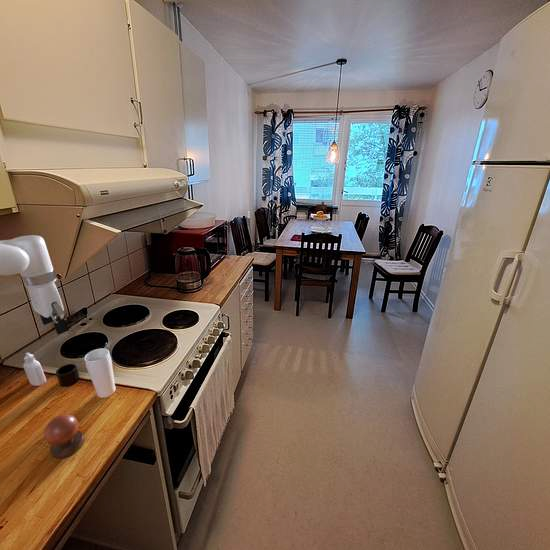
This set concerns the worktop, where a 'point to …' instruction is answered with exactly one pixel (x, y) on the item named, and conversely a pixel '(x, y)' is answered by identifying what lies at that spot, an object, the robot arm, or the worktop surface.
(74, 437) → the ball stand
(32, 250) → the robot arm
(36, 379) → the eye dropper bottle
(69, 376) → the napkin ring
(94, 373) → the drinking glass
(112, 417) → the worktop surface
